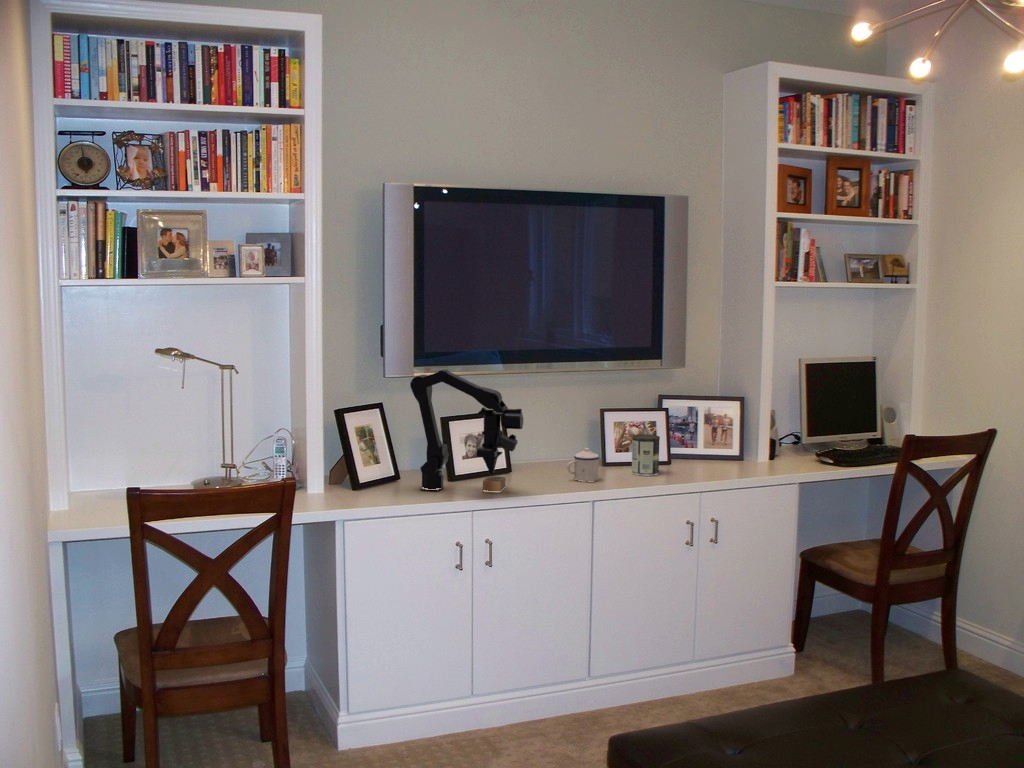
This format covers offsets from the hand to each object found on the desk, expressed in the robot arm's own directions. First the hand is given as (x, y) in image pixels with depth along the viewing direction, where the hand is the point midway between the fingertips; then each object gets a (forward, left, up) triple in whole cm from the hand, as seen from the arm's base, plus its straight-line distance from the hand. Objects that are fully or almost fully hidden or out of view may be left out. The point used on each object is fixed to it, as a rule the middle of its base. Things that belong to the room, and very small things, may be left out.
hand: (491, 473), depth 314 cm
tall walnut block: (0, 0, -5) cm, 5 cm away
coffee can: (+48, +46, -7) cm, 66 cm away
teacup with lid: (+27, +28, -7) cm, 39 cm away
